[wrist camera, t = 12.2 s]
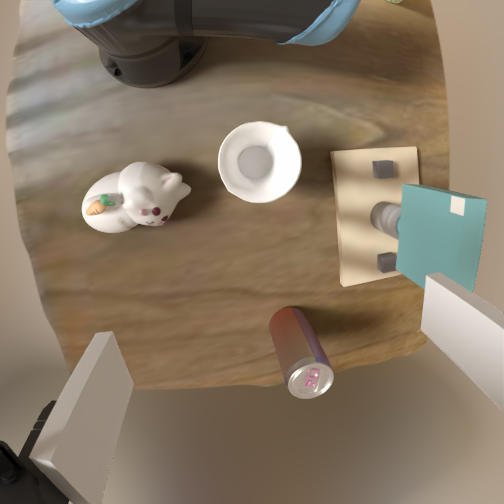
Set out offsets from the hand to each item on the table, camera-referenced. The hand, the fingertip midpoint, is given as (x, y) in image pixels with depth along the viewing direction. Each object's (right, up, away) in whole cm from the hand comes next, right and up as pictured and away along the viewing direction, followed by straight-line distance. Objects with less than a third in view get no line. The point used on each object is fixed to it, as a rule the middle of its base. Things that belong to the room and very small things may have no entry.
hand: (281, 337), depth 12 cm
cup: (-1, +16, +30) cm, 34 cm away
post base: (+18, +9, +33) cm, 39 cm away
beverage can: (+4, -8, +37) cm, 38 cm away
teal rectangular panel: (+19, +7, +26) cm, 33 cm away
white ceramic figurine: (-17, +11, +30) cm, 36 cm away
